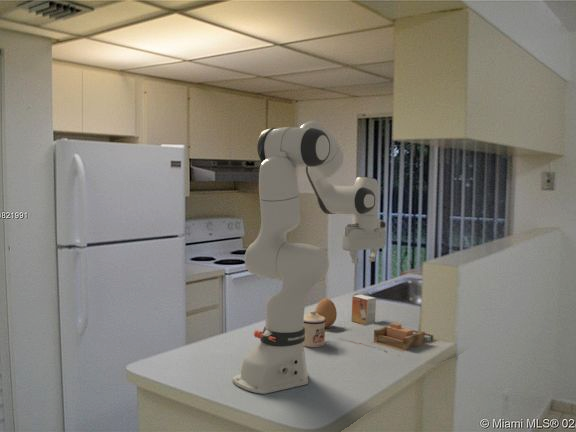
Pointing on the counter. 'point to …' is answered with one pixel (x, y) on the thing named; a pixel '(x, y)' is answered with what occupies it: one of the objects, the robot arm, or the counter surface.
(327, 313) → the egg
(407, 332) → the block
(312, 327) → the teacup with lid
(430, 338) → the plank
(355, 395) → the counter surface
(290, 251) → the robot arm
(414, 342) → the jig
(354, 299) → the small box
